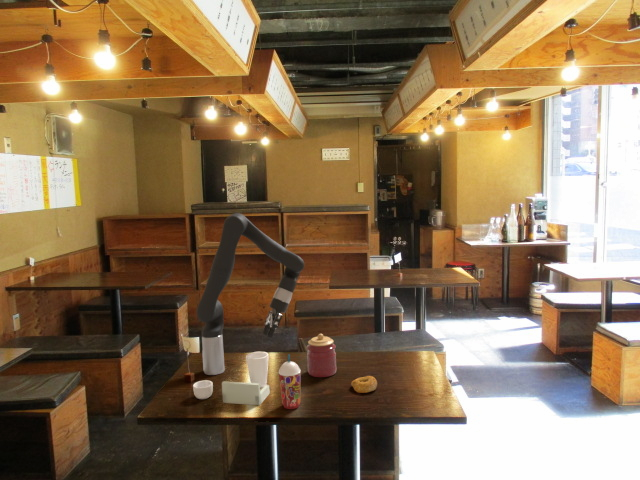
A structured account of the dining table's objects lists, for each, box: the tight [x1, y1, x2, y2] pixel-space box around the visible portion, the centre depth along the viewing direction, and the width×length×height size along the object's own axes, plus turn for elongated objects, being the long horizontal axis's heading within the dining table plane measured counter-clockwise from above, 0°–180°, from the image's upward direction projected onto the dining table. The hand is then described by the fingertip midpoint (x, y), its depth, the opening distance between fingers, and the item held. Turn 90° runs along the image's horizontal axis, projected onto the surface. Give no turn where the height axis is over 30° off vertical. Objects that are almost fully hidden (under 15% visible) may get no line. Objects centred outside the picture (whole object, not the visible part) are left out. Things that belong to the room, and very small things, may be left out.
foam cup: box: [245, 351, 270, 389], centre depth 205 cm, size 10×9×13 cm
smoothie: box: [278, 354, 302, 410], centre depth 183 cm, size 8×8×20 cm
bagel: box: [350, 375, 378, 394], centre depth 197 cm, size 10×11×5 cm
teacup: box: [192, 379, 214, 400], centre depth 197 cm, size 10×8×5 cm
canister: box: [306, 333, 337, 378], centre depth 216 cm, size 13×13×18 cm
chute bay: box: [221, 380, 271, 406], centre depth 193 cm, size 11×15×8 cm
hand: (266, 335), depth 208 cm, fingers open, 8 cm apart
